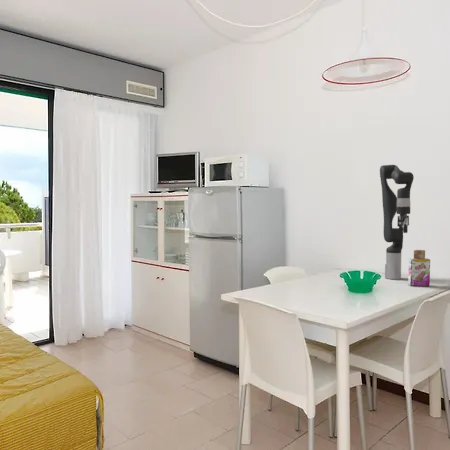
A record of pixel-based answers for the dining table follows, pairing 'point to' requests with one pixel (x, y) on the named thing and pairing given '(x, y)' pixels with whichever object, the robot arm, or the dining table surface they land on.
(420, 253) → the walnut cube
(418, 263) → the candy bar box
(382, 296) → the dining table surface
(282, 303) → the dining table surface
